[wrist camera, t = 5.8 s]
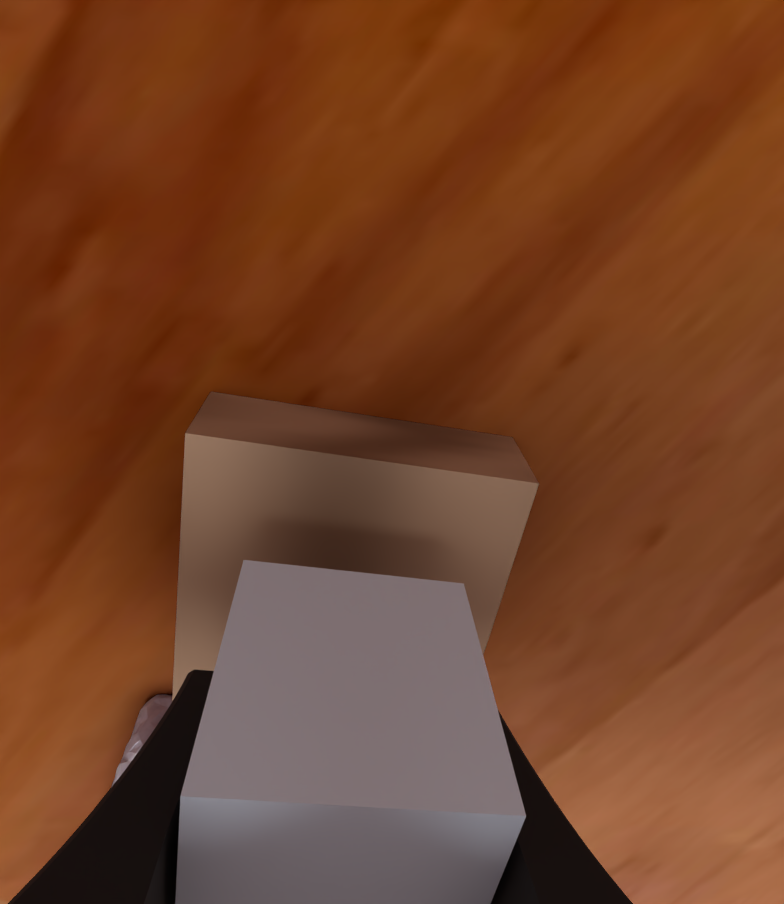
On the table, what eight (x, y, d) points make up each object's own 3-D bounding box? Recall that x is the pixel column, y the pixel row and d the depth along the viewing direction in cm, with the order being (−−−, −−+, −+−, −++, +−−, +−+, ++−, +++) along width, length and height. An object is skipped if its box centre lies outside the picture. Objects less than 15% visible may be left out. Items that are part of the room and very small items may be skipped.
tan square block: (509, 431, 17) (539, 483, 14) (445, 651, 20) (459, 727, 18) (214, 386, 16) (185, 433, 13) (197, 625, 19) (172, 702, 16)
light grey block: (463, 583, 13) (526, 816, 8) (421, 735, 15) (453, 994, 10) (243, 559, 12) (180, 796, 8) (228, 722, 14) (170, 988, 9)
